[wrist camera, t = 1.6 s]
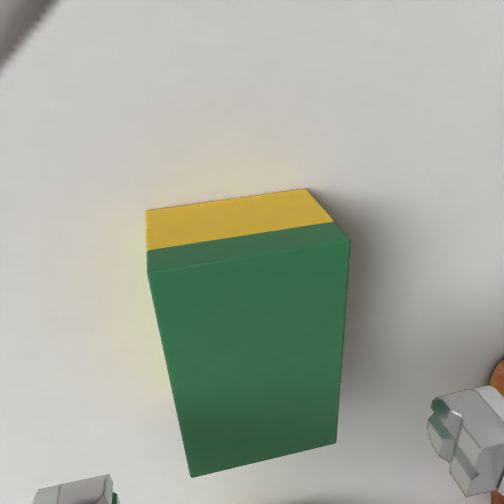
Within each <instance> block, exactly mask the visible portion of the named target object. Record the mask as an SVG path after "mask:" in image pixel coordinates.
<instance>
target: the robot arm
mask: <svg viewBox="0 0 504 504" xmlns="http://www.w3.org/2000/svg"><path fill="white" fill-rule="evenodd" d="M431 408H432V410H433V411H434V414H433V415H432V416H431V417H430V418H429V419H428V424H427V431H428V436H429V440H430V442H431V444H432V446H433V448H434V450H435V451H436V453H437V454H438V456H439V457H441V458H442V459H444V460H446V461H447V462H449V463H450V467H449V472H450V474H451V475H452V477H453V478H454V480H455V481H456V483H457V484H458V486H459V487H460V489H461V490H462V492H463V493H464V495H465V496H466V497H469V496H473V495H477V494H481V493H485V492H490V491H494V490H498V491H497V492H499V493H500V494H501V495H503V496H504V397H503V396H502V395H501V394H500V393H499V392H498V391H497V390H496V389H495V388H494V387H492V386H490V385H486V386H482V387H478V388H474V389H467V390H463V391H459V392H455V393H451V394H447V395H443V396H439V397H436V398H435V399H434V400H433V401H432V405H431ZM112 490H113V482H112V479H111V477H110V475H109V474H107V475H103V476H98V477H93V478H89V479H84V480H80V481H75V482H70V483H66V484H60V485H56V486H52V487H47V488H43V489H39V490H38V491H37V493H36V495H35V497H34V500H33V504H120V502H119V498H118V495H117V494H116V493H114V492H112Z"/></svg>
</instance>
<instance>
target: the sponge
mask: <svg viewBox="0 0 504 504" xmlns="http://www.w3.org/2000/svg"><path fill="white" fill-rule="evenodd" d="M146 250H147V275H148V280H149V285H150V289H151V294H152V299H153V304H154V308H155V313H156V318H157V322H158V327H159V332H160V336H161V341H162V346H163V350H164V355H165V360H166V365H167V369H168V374H169V379H170V383H171V388H172V393H173V397H174V402H175V407H176V411H177V416H178V421H179V426H180V430H181V435H182V440H183V444H184V449H185V454H186V458H187V463H188V468H189V472H190V476H191V477H192V478H193V477H198V476H202V475H206V474H210V473H214V472H218V471H223V470H227V469H231V468H235V467H239V466H243V465H247V464H252V463H256V462H260V461H264V460H268V459H272V458H277V457H281V456H285V455H289V454H293V453H297V452H302V451H306V450H310V449H314V448H318V447H322V446H326V445H331V444H335V443H336V438H337V424H338V410H339V396H340V382H341V368H342V354H343V340H344V326H345V312H346V298H347V284H348V270H349V256H350V239H349V237H348V236H347V235H346V234H345V233H344V232H343V231H342V229H341V228H340V227H339V226H338V225H337V224H336V223H335V222H334V220H333V219H332V218H331V217H330V216H329V214H328V213H327V212H326V211H325V210H324V209H323V208H322V206H321V205H320V204H319V203H318V202H317V201H316V200H315V198H314V197H313V196H312V195H311V194H310V193H309V192H308V190H307V189H298V190H291V191H284V192H277V193H270V194H262V195H255V196H248V197H241V198H234V199H227V200H219V201H212V202H205V203H198V204H191V205H184V206H176V207H169V208H162V209H155V210H148V211H146Z"/></svg>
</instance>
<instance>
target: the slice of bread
mask: <svg viewBox="0 0 504 504" xmlns="http://www.w3.org/2000/svg"><path fill="white" fill-rule="evenodd" d="M489 385H490V386H492V387H494V388H495V389H496V390H497V391H498V392H499V393H500V394H501V395H502V396H503V397H504V359H503V360H502V361H501V362H500V363H499V364H498V365H497V366H496V368H495V370H494V372H493V374H492V376H491V379H490V382H489ZM497 491H498V490H494V491H490V493H491V502H492V504H504V496H503V495H501V494H500V493H499V492H497Z"/></svg>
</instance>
